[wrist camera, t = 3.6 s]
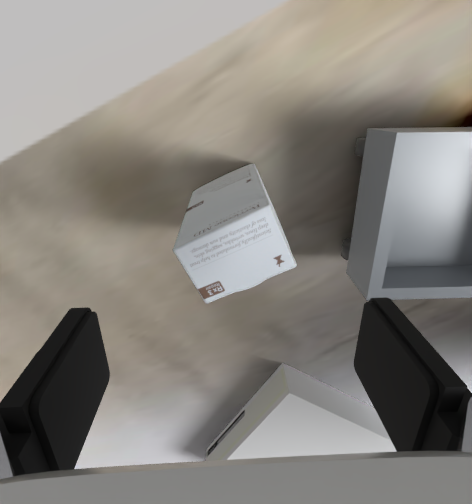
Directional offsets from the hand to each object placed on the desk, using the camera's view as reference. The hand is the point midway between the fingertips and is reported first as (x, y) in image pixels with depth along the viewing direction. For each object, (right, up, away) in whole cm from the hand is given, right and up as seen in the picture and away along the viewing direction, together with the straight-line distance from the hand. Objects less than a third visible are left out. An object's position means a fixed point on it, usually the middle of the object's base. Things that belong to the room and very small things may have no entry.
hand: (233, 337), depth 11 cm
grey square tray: (+16, +8, +18) cm, 25 cm away
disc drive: (+10, -21, +32) cm, 39 cm away
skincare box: (0, +8, +18) cm, 19 cm away
